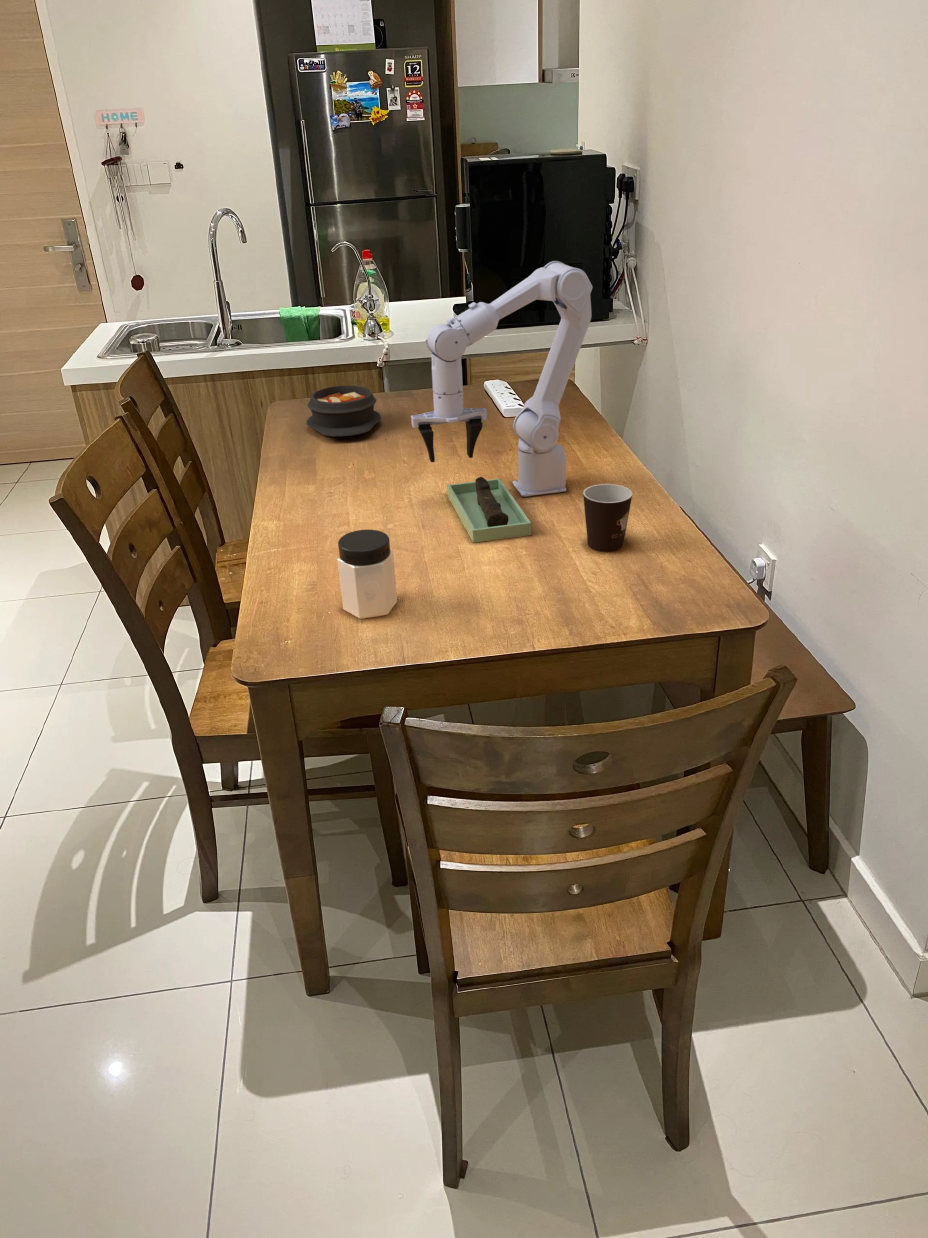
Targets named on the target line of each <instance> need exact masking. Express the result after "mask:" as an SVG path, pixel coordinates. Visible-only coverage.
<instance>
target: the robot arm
mask: <svg viewBox="0 0 928 1238" xmlns="http://www.w3.org/2000/svg"><path fill="white" fill-rule="evenodd" d="M592 290H593V284H592V283H591V281H590V279H589V277H588V275H587V274H586V272H585V271H584V270H583V269H581V268H578V267H573V266H570V265H568V264H565V263H564V262H562V261H559V260H552V261H549V262H548V263H547V264H545V265H544V266H542V267H539V268H537V269H535V270H534V271H533V272H532V273H530V275H528V277H526V278H524V279H523V280H522V281H520V282H519V283H517V284H515V286H513V287H511V288H510V289H509V290H507V291H506V292H504V293H503V294H502V295H500V296H499V297H497V298H496V299H494V300H493V301H491V302H490V303H486V302H483V301H479V302H477V303H476V302H474V301H473V302H471V303H470V304H468V309H465V310H464V311H463V312H461V313H460V314H458V315H456V316H455V317H449V318H447V319H446V323H439V324H436V325H434V326H433V327H432V328H431V329H430V330H429V331H430V332H428V334H427V338H426V339H425V345H426V347H427V349H428V351H430V353H431V354H430V358H431V382H432V395H433V396H432V399H433V410H432V411H428V412H423V413H420V414H419V413H418V414H412V415H410V419H411V420H410V421H411V427H412V428H413V429H417V430H418V431H419V433H420V436H421V437H422V440H423V442H424V444H425V447H426V450H427V455H428V459H429V461H430V463H435V461H436V458H435V457H436V456H435V449H434V431H433V427H432V426H435V425H443V424H454V423H455V424H456V423H463V422H465V423H464V424H465V432H466V455H467V457H468V458H469V459H473V458H474V452H475V451H474V450H475V447H476V443H477V440H478V437H479V435H480V433H481V431H482V430H483V427H484V426H483V425H484V424H483V422H482V421H487V420H488V413H487V412H488V411H487V409H486V408H485V407H476V408H475V407H464V387H463V366H462V358H463V357H462V356H464V354H465V352H466V349H467V348H468V347H470V346H472V345H473V344H475V343H476V342H478V341H480V340H482V339H483V338H485V337H486V336H488V335H489V334H491V333H492V332H495V331H496V330H497V327H498V324H499V321H500V320H502V319H503V318H505V317H507V316H509V315H511V314H512V313H514V312H516V311H517V310H520V309H522V308H524V307H525V306H527V305H529V304H531V303H533V302H534V301H536V300H538V301H549V302H553V304H554V306H555V308H556V310H557V312H558V314H559V317H560V322H559V323H558V324H559V325H558V327H557V330H556V331H555V335H554V338H553V341H552V344H551V347H550V349H549V352H548V354H547V357H546V360H545V363H544V366H543V368H542V371H541V374H540V376H539V379H538V382H537V385H536V387H535V389H534V390H535V391H534V393H533V395H532V396H531V397H530V398H529V399H527V400H526V401H525V402H524V405H523V407H522V409H521V410H520V412H519V413H518V414H517V415H516V416H515V418H514V420H513V424H512V425H513V426H512V428H513V432H514V434H515V435H516V436H517V437H518V443H517V464H518V465H517V470H518V471H517V473H518V474H517V475H518V477H517V480H513V481H512V485H513V486H514V488H515V489H516V490H517V492H518V493H519V494H520V496H522V497H532V496H540V495H548V494H549V495H550V494H556V493H557V494H558V493H563V492H564V493H565V492H567V487H566V480H567V479H566V476H567V475H566V474H567V459H566V458H567V457H566V453H565V452H566V451H565V448H564V447H563V445H562V444H560V443H559V444H557V443H558V440H559V437H560V432H559V430H560V429H559V428H560V424H561V421H562V417H561V411H560V403H561V400H562V398H563V395H564V392H565V390H566V387H567V384H568V383H569V379H570V377H571V373H572V372H573V369H574V366H575V363H576V361H577V358H578V355H579V353H580V350H581V347H582V345H583V342H584V339H585V337H586V334H587V332H588V328H589V326H590V323H591V321H592V316H593V315H592V301H591V293H592Z"/></svg>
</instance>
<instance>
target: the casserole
mask: <svg viewBox="0 0 928 1238" xmlns="http://www.w3.org/2000/svg"><path fill="white" fill-rule="evenodd" d="M309 398H310V399H309V401H308V403H307V408H308V409H309V411H310V412H311V415H310V416H309V417H308V418H307V420H306V425H307V427H308V428H310V429H312V430H314V431H317V433H320V434H321V435H322V436H324V437H332V438H333V437H335V438H336V437H351V436H357V435H358V436H359V435H361V434H365V433H368V432H370V431H371V430H372V429H373V428H374V426H375V425H376V424H378V423H379V422H380V421H381V419H382V415H381V413H380V412H378V411H377V410H375V405H376V403H377V398H376V397H375V396H374V394H373V392H372V390H371V389H370V388H368V387H364V386H360V385H336V386H330V387H324V388H322V389H319V390H316V391H314V392H313V393H312V394H311V395H310V397H309Z"/></svg>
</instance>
